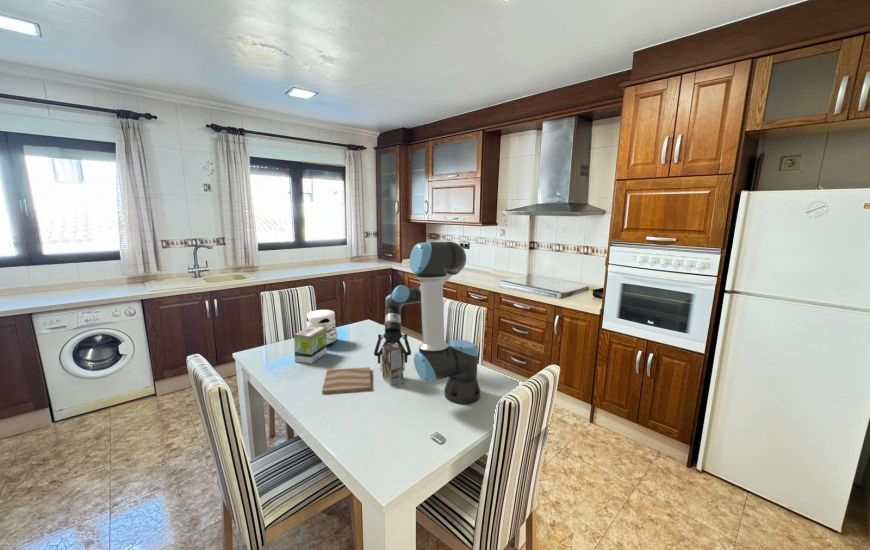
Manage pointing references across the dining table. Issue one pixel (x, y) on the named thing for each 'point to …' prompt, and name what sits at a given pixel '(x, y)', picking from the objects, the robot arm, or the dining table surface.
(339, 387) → the tan board
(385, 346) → the coffee box
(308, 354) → the tea box
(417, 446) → the dining table surface
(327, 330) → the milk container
